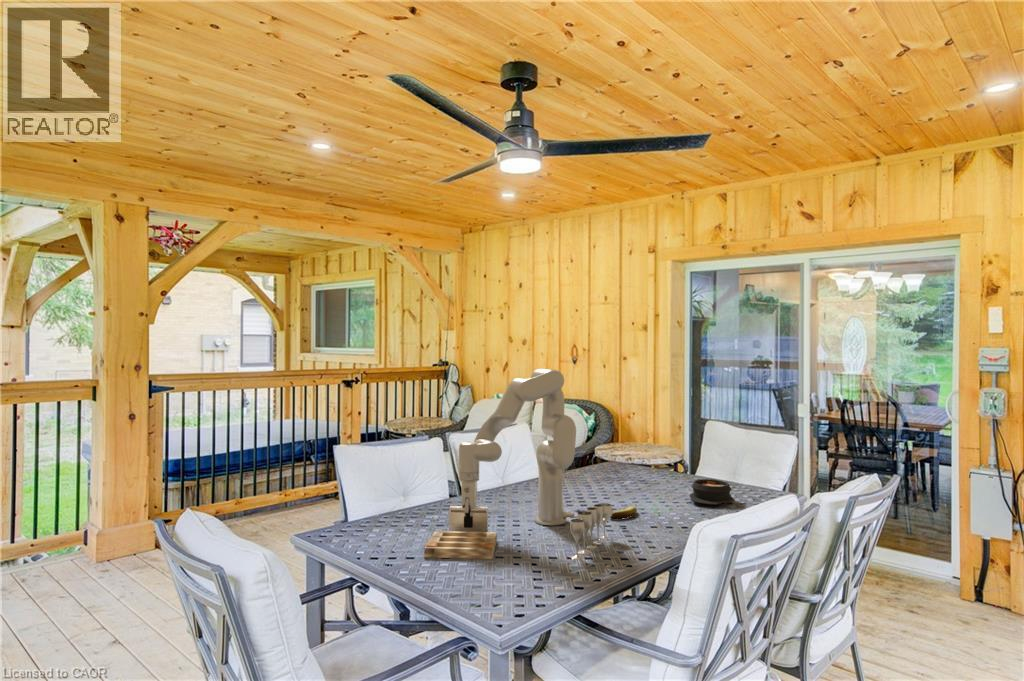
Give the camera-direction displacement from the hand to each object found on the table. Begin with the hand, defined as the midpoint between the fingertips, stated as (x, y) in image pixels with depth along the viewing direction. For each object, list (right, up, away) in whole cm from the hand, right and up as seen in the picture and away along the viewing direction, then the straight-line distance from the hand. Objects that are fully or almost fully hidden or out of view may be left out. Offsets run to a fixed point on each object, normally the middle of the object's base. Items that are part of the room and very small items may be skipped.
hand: (468, 525), depth 217 cm
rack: (-1, -2, -17) cm, 17 cm away
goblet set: (+43, -3, -15) cm, 46 cm away
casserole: (+105, -4, +46) cm, 114 cm away
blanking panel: (0, -3, 0) cm, 3 cm away
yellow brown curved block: (+61, -4, +23) cm, 66 cm away
